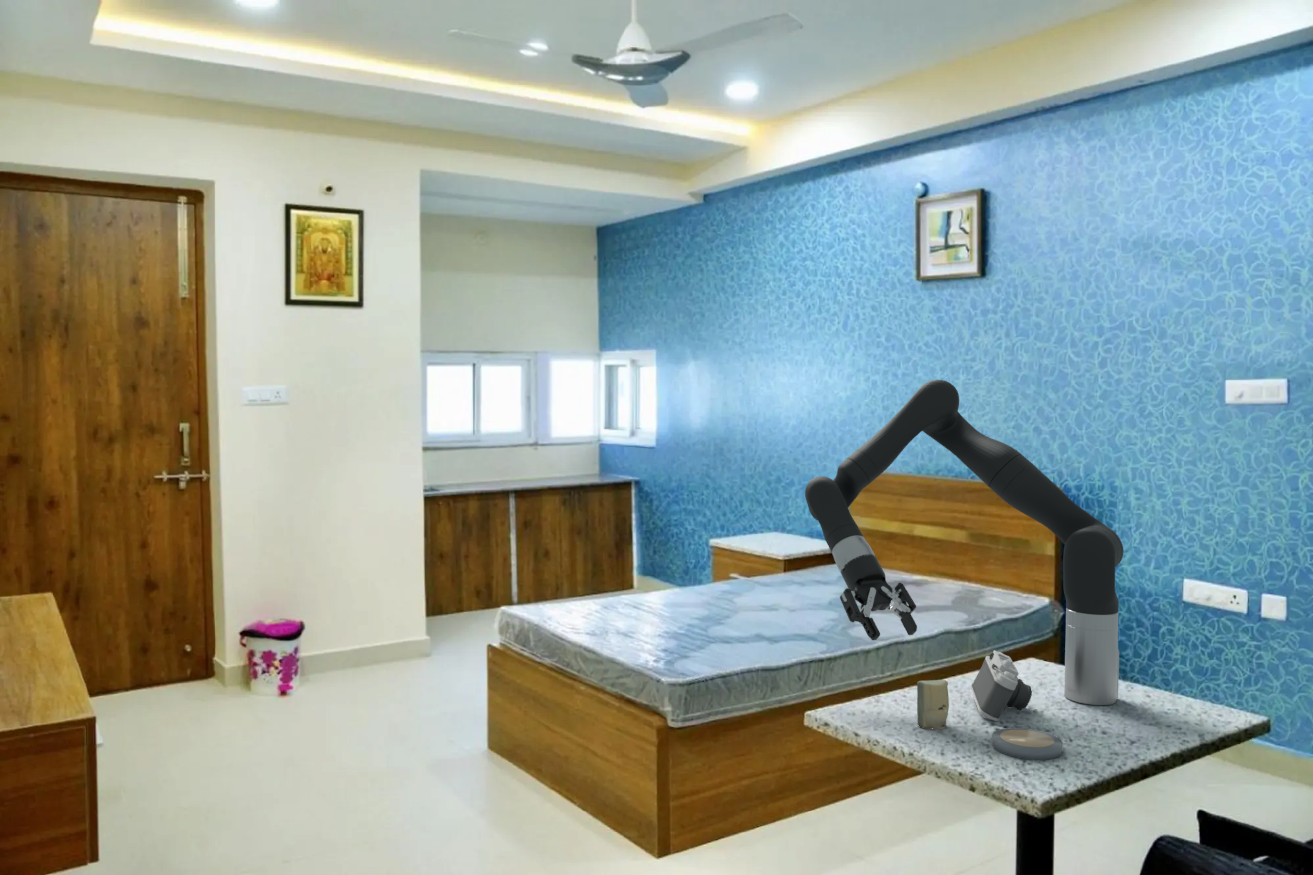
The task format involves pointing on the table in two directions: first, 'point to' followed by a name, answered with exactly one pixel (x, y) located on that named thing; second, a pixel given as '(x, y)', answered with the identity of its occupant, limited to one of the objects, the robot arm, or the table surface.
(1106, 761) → the table surface
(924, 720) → the off-white rounded piece
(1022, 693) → the camera
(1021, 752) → the coaster
